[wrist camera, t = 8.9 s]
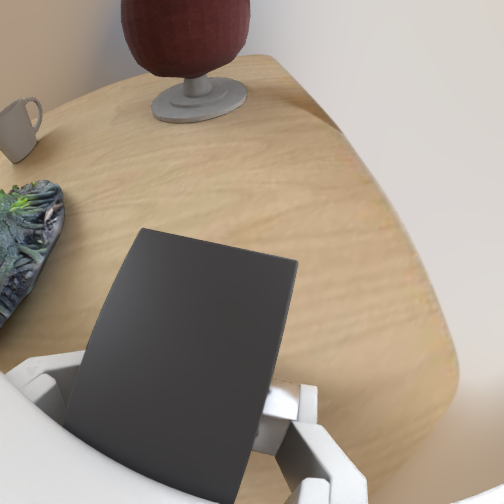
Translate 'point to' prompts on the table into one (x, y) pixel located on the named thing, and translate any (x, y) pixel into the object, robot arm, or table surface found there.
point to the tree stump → (26, 238)
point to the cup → (18, 130)
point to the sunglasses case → (183, 361)
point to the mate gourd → (188, 52)
